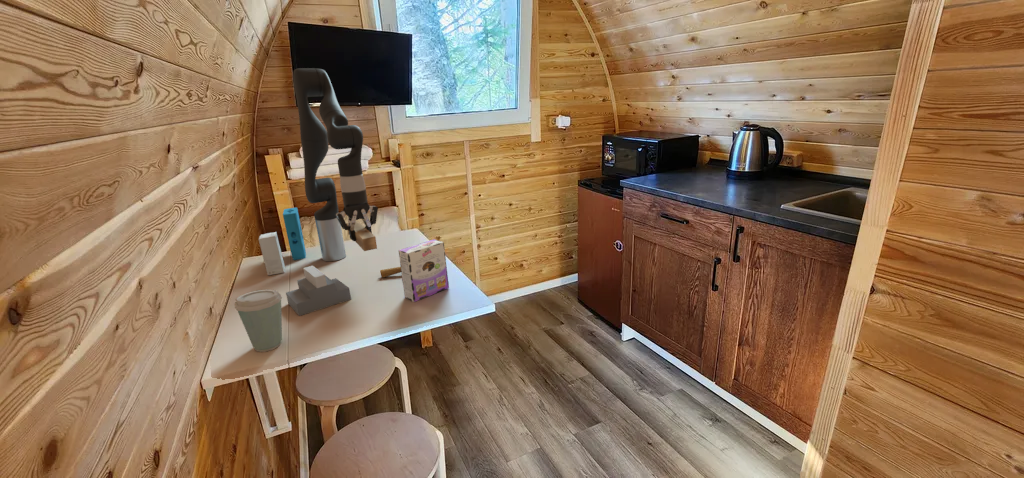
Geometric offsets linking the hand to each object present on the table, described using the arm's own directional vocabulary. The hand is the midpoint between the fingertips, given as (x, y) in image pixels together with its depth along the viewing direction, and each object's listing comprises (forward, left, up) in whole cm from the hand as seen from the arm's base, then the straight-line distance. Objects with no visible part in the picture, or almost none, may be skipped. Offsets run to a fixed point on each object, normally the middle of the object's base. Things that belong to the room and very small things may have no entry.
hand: (361, 238), depth 148 cm
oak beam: (0, 0, -1) cm, 1 cm away
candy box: (+21, +11, -17) cm, 29 cm away
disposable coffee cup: (+20, -36, -17) cm, 45 cm away
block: (-54, -8, -17) cm, 57 cm away
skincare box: (-42, -20, -17) cm, 49 cm away
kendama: (+1, +14, -17) cm, 22 cm away
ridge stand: (+1, -17, -17) cm, 24 cm away
